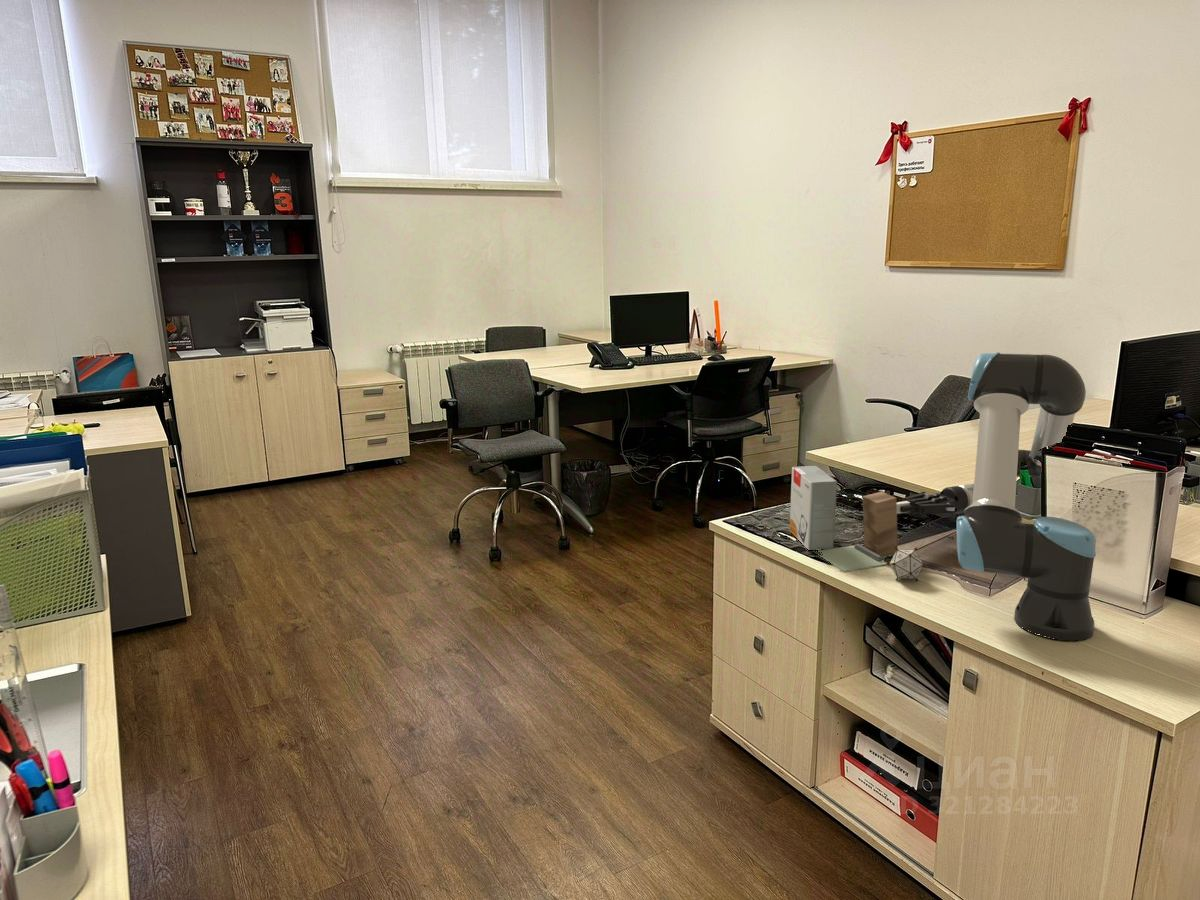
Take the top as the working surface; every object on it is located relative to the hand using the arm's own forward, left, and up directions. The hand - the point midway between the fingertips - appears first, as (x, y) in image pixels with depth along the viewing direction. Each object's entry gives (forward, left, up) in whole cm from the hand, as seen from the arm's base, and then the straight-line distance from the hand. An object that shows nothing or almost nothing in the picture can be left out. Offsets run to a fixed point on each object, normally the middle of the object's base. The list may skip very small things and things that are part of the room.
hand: (887, 509), depth 216 cm
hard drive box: (+14, +14, -12) cm, 23 cm away
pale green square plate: (-1, +12, -12) cm, 17 cm away
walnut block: (-1, +2, -12) cm, 12 cm away
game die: (-17, +7, -12) cm, 22 cm away
